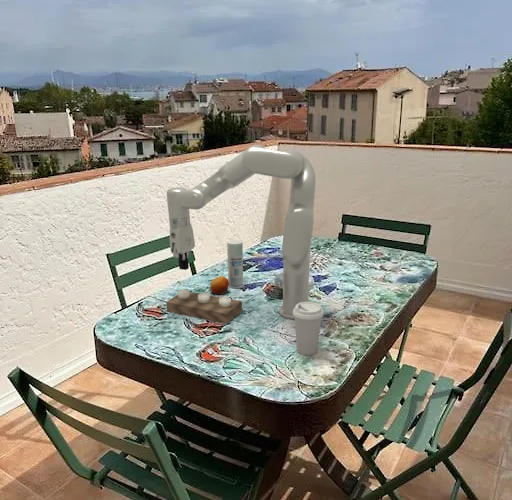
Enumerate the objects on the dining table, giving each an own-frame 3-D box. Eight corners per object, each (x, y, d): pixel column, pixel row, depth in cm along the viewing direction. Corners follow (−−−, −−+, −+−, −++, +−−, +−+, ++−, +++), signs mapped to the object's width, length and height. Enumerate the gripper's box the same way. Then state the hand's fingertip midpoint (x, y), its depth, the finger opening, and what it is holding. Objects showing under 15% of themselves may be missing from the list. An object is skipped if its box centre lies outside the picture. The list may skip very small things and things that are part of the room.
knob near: (233, 310, 171) (232, 297, 169) (227, 315, 167) (227, 302, 165) (222, 308, 173) (222, 296, 171) (217, 313, 169) (216, 300, 167)
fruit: (230, 293, 186) (220, 277, 185) (215, 301, 189) (204, 285, 188) (235, 286, 194) (225, 270, 193) (220, 294, 197) (210, 278, 195)
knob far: (192, 302, 178) (191, 290, 176) (186, 307, 174) (185, 294, 173) (182, 301, 180) (182, 288, 178) (176, 305, 176) (175, 292, 174)
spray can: (240, 282, 202) (240, 239, 196) (245, 287, 196) (244, 243, 190) (226, 284, 200) (225, 240, 195) (230, 289, 195) (229, 244, 189)
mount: (242, 311, 174) (241, 301, 173) (227, 324, 163) (226, 313, 162) (184, 300, 184) (183, 290, 183) (166, 311, 174) (166, 301, 173)
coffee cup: (289, 343, 149) (290, 301, 145) (318, 342, 150) (320, 300, 146) (294, 358, 140) (295, 314, 136) (325, 357, 141) (327, 312, 137)
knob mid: (212, 306, 174) (211, 294, 173) (206, 311, 171) (205, 298, 169) (202, 304, 176) (201, 292, 175) (196, 309, 172) (195, 296, 171)
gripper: (176, 227, 159) (181, 276, 165) (199, 217, 172) (202, 263, 177) (159, 225, 162) (164, 274, 168) (182, 216, 175) (186, 261, 181)
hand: (184, 268), depth 173 cm, fingers closed
